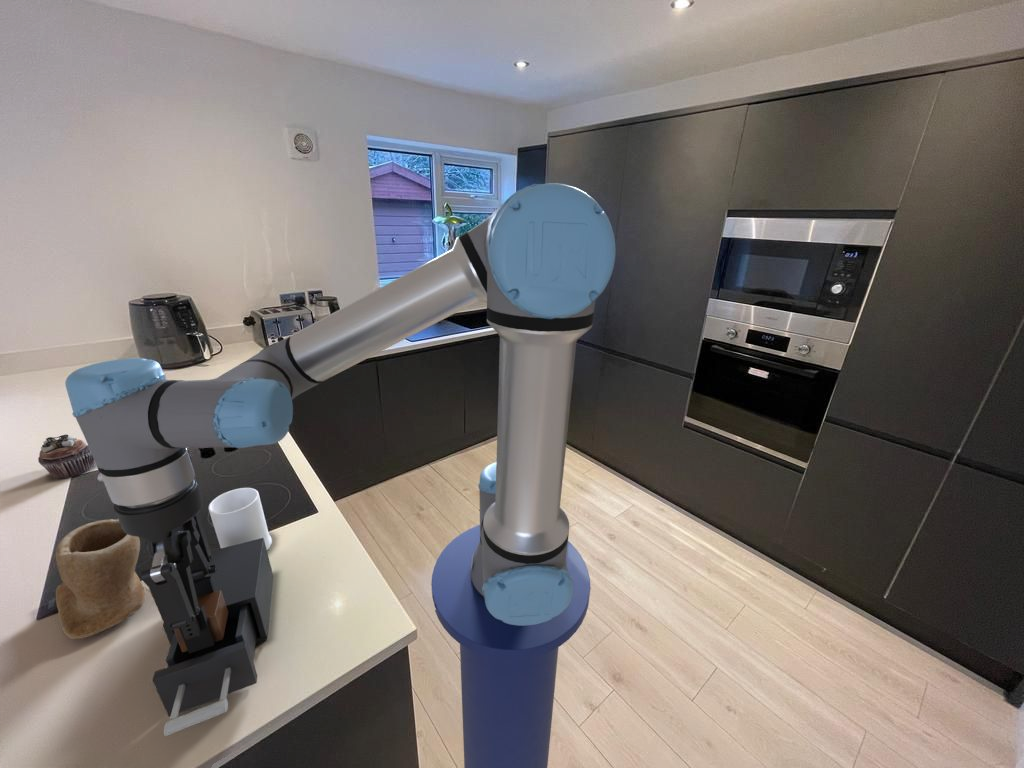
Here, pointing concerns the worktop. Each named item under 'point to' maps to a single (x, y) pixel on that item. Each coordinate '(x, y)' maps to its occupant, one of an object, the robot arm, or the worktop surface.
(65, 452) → the cupcake
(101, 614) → the stone cup
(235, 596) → the cabinet
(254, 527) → the mug
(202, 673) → the drawer
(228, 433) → the robot arm
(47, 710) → the worktop surface
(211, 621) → the block
